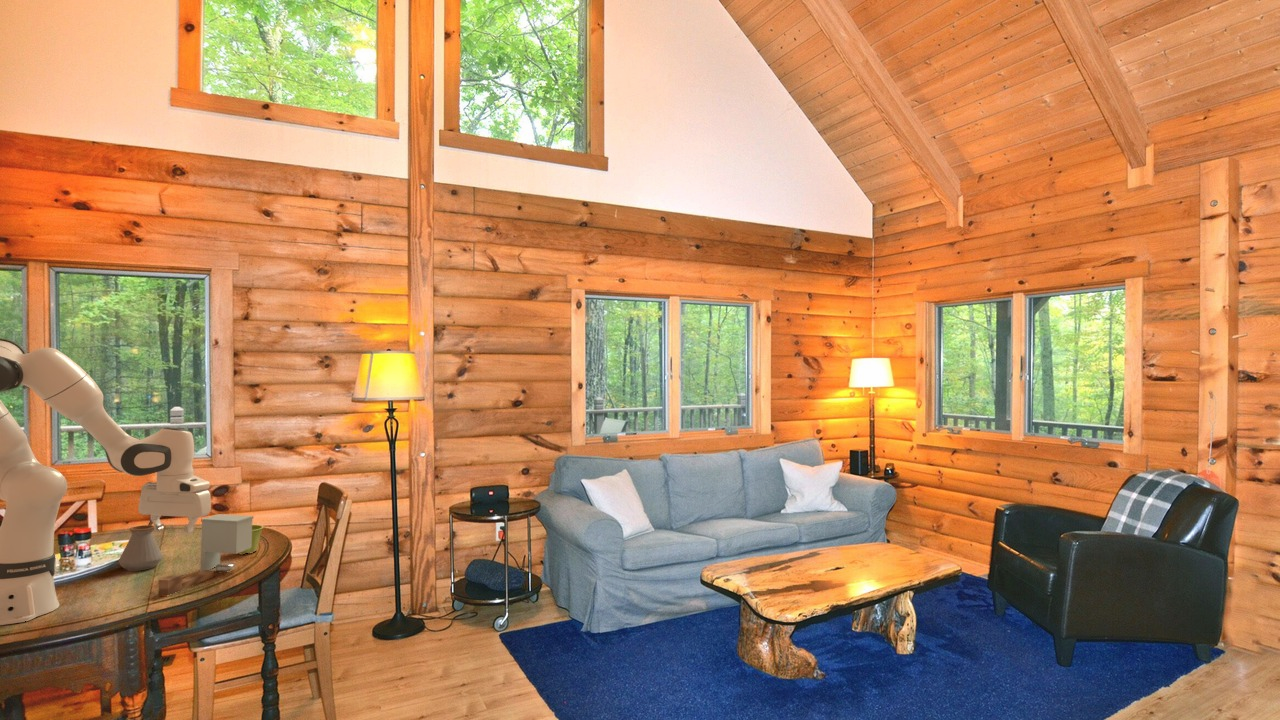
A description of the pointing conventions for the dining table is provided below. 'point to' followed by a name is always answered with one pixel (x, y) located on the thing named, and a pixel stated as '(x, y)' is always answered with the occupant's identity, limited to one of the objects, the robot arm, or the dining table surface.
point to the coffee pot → (141, 550)
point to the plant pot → (254, 538)
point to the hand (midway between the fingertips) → (173, 531)
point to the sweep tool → (181, 582)
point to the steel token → (224, 567)
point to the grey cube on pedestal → (224, 537)
